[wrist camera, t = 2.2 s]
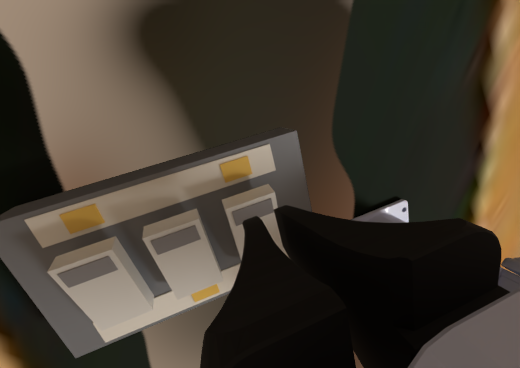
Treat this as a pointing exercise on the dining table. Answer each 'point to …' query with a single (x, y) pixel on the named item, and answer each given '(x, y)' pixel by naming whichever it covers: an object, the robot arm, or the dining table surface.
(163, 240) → the switch
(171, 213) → the switch unit
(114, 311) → the switch
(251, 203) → the switch
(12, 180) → the dining table surface
